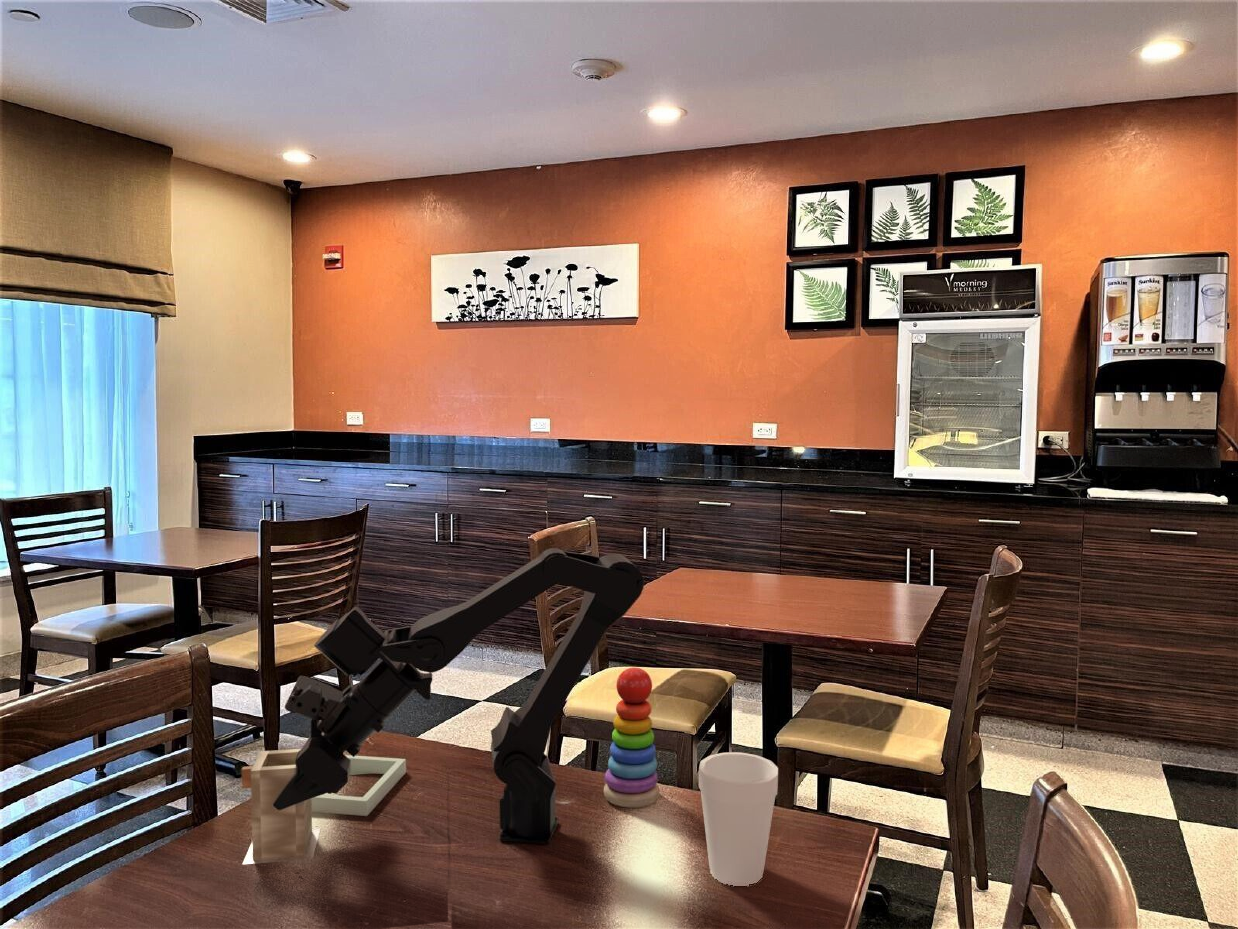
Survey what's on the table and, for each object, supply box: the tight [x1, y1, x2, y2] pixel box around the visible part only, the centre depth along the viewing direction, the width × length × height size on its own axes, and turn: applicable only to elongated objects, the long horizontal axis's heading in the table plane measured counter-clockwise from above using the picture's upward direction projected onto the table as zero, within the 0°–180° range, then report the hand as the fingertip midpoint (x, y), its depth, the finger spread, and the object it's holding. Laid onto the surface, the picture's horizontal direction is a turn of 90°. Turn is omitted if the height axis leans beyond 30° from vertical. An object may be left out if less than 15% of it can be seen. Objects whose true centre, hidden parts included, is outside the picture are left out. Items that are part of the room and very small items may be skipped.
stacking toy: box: [603, 667, 661, 809], centre depth 127 cm, size 8×8×19 cm
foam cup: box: [698, 752, 779, 887], centre depth 107 cm, size 10×9×13 cm
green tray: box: [311, 754, 407, 817], centre depth 127 cm, size 12×14×3 cm
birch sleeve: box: [241, 748, 313, 859], centre depth 111 cm, size 8×6×11 cm
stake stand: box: [241, 826, 322, 866], centre depth 111 cm, size 8×8×4 cm
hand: (282, 790), depth 111 cm, fingers open, 9 cm apart
